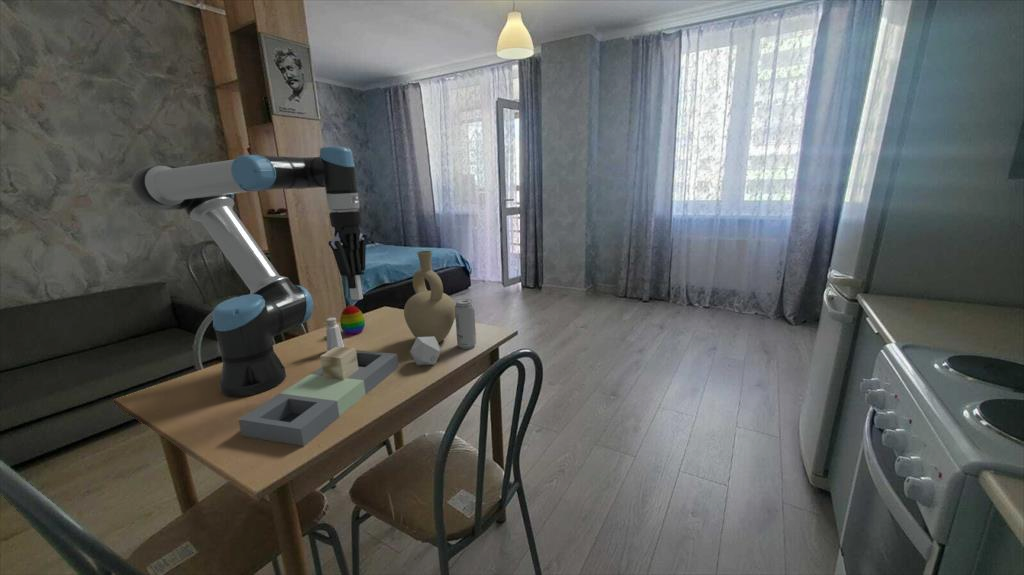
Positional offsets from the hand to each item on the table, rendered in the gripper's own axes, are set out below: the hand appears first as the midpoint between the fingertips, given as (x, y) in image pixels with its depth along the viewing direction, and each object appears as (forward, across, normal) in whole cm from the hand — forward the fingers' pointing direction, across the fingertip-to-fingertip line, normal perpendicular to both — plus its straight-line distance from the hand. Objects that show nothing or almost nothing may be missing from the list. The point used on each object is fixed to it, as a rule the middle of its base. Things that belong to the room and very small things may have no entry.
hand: (357, 298), depth 110 cm
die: (+22, +8, -15) cm, 27 cm away
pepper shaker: (+21, +10, +18) cm, 30 cm away
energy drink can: (+22, +22, -22) cm, 38 cm away
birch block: (+17, -10, 0) cm, 20 cm away
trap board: (+21, -14, 0) cm, 26 cm away
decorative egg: (+21, +26, +23) cm, 41 cm away
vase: (+22, +24, -9) cm, 33 cm away
